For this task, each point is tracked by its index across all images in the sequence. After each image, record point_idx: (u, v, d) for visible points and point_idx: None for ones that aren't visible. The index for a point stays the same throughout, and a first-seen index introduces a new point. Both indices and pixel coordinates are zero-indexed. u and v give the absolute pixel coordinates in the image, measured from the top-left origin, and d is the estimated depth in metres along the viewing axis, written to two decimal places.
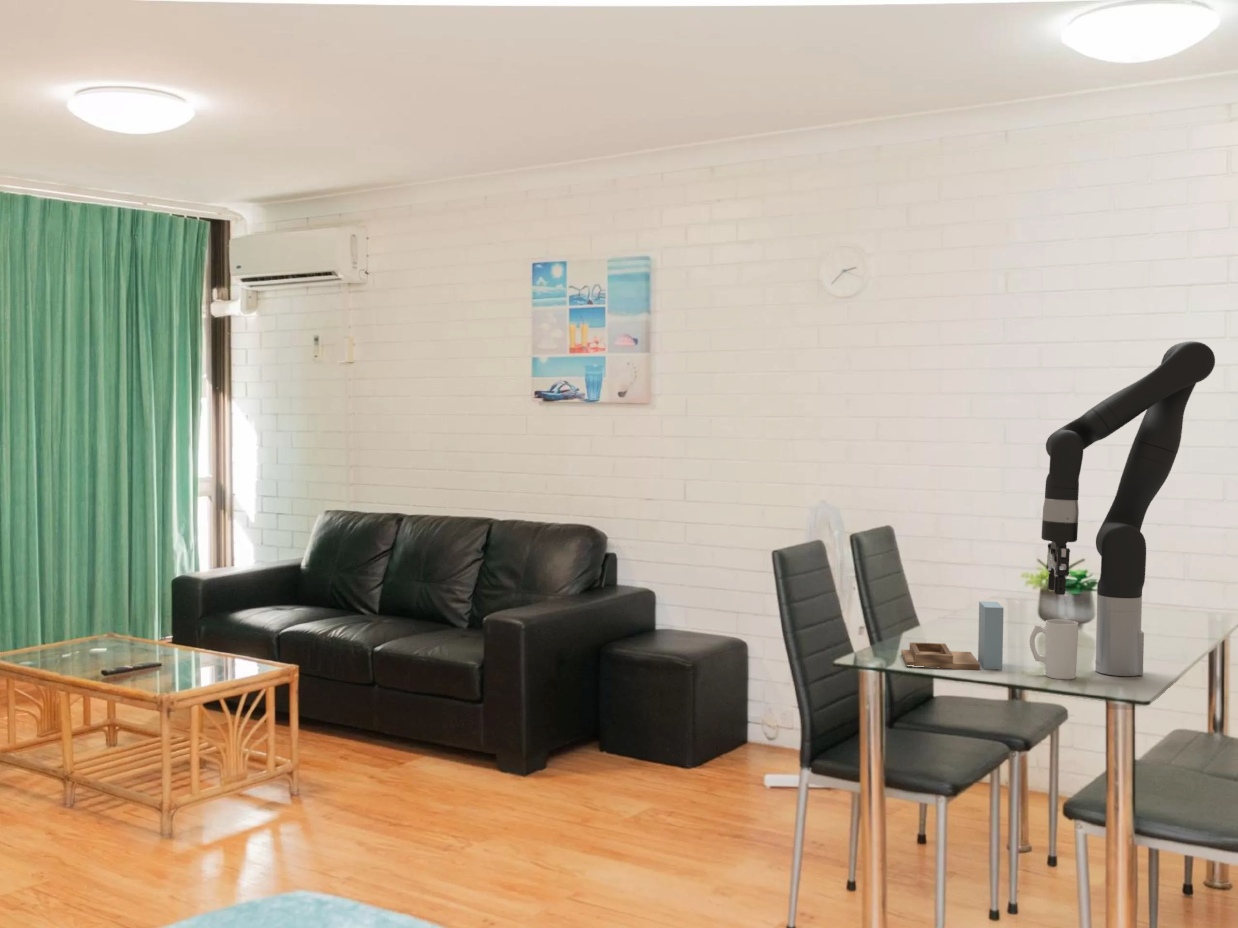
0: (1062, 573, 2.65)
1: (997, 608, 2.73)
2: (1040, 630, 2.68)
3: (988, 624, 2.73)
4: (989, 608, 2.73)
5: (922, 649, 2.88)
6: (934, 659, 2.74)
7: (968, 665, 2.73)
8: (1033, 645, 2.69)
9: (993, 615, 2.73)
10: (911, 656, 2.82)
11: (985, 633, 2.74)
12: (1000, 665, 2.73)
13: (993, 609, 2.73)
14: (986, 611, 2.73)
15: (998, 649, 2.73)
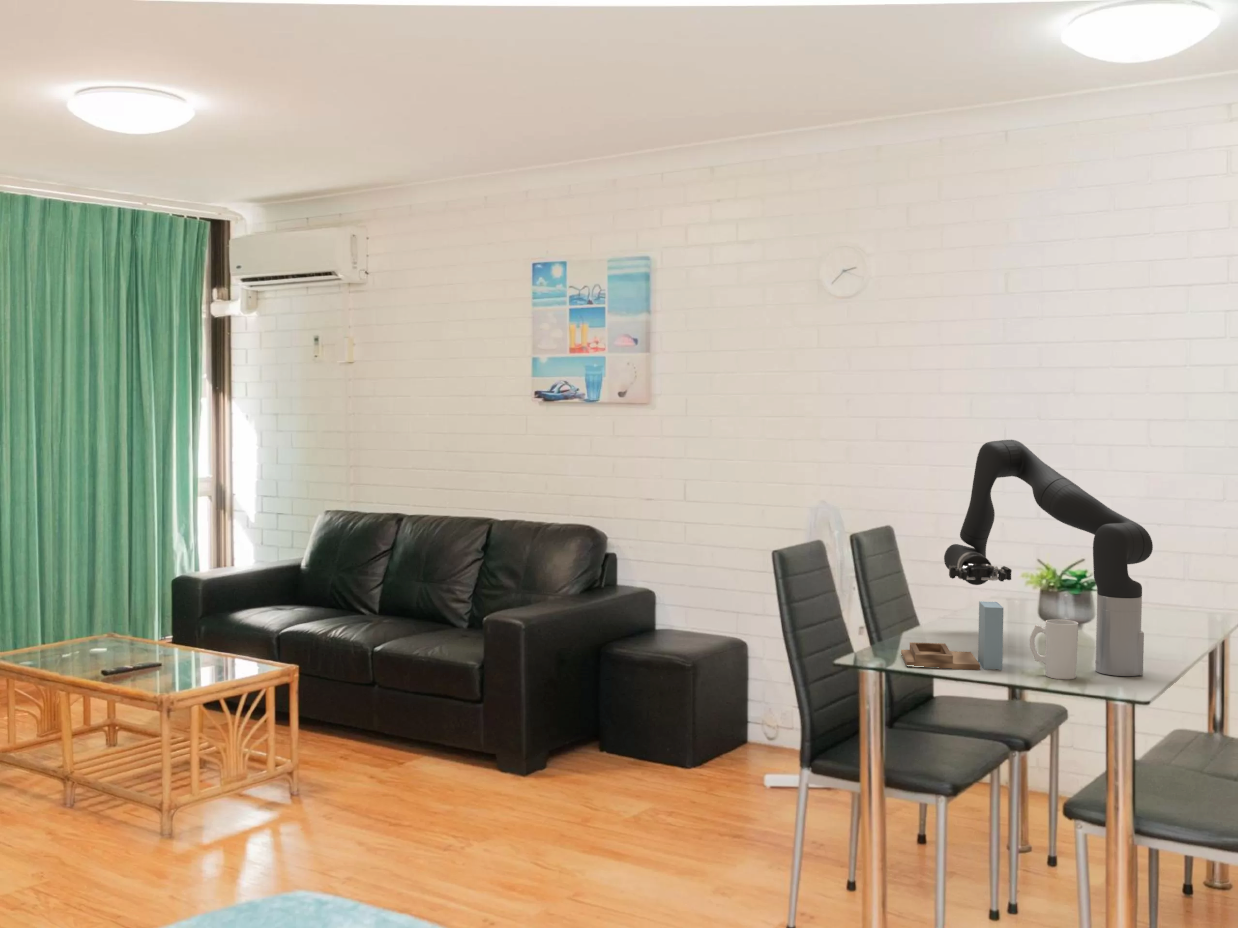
0: (950, 573, 2.94)
1: (997, 608, 2.73)
2: (1040, 630, 2.68)
3: (988, 624, 2.73)
4: (989, 608, 2.73)
5: (922, 649, 2.88)
6: (934, 659, 2.74)
7: (968, 665, 2.73)
8: (1033, 645, 2.69)
9: (993, 615, 2.73)
10: (911, 656, 2.82)
11: (985, 633, 2.74)
12: (1000, 665, 2.73)
13: (993, 609, 2.73)
14: (986, 611, 2.73)
15: (998, 649, 2.73)
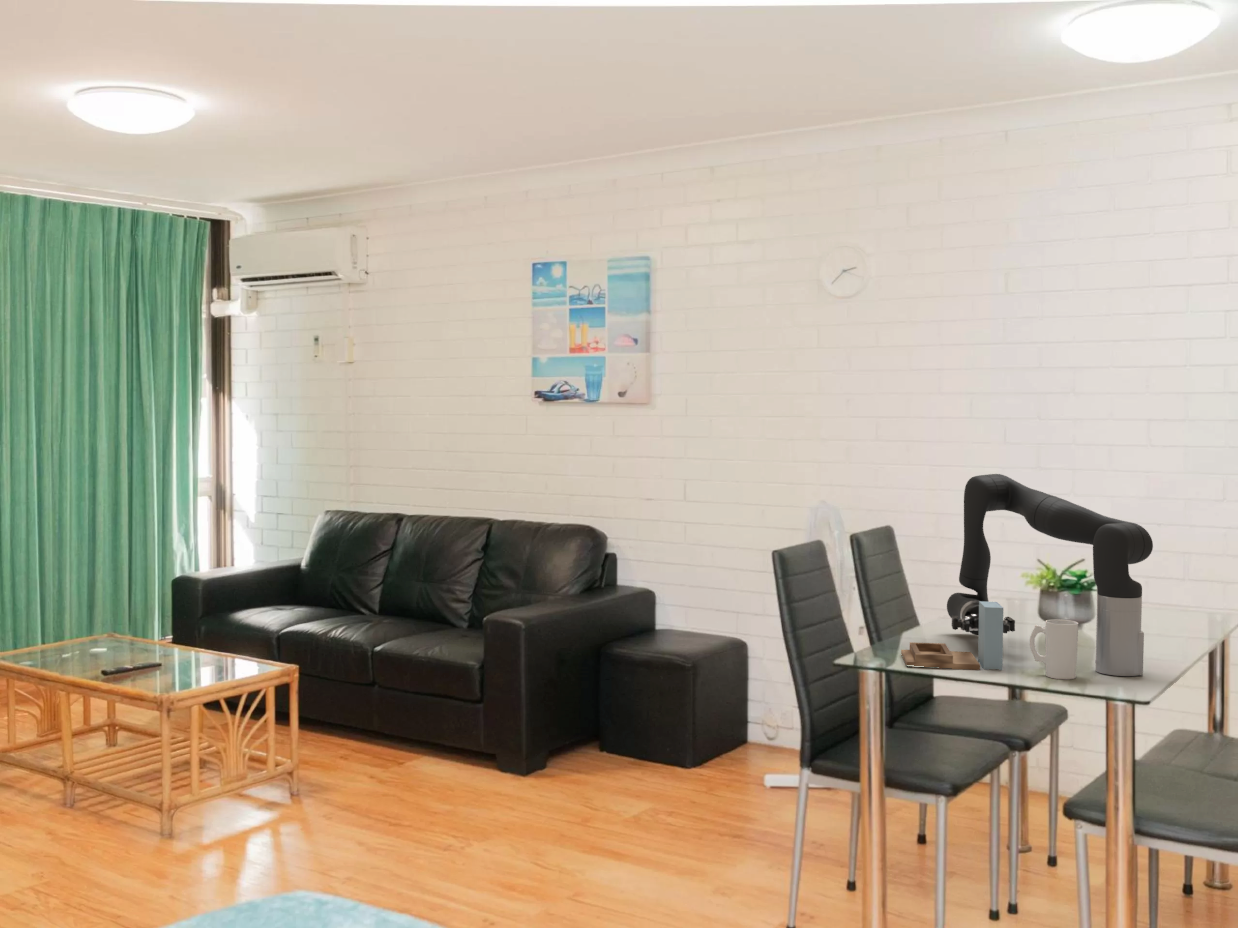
0: (952, 624, 2.90)
1: (997, 608, 2.73)
2: (1040, 630, 2.68)
3: (987, 624, 2.73)
4: (989, 608, 2.73)
5: (922, 649, 2.88)
6: (934, 659, 2.74)
7: (968, 665, 2.73)
8: (1033, 645, 2.69)
9: (993, 615, 2.73)
10: (911, 656, 2.82)
11: (985, 633, 2.74)
12: (1000, 665, 2.73)
13: (993, 609, 2.73)
14: (986, 611, 2.73)
15: (998, 649, 2.73)
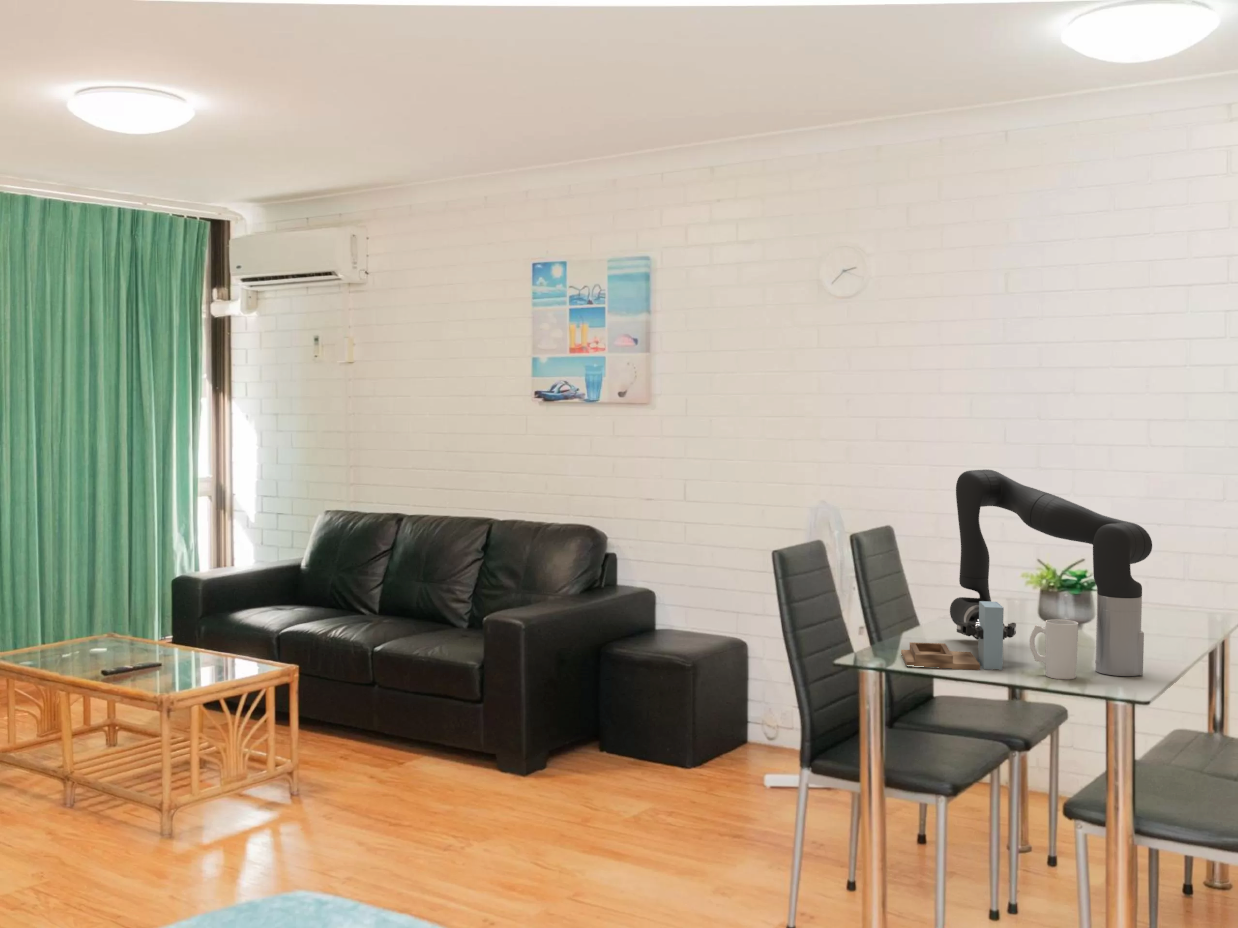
0: (966, 630, 2.81)
1: (997, 608, 2.73)
2: (1040, 630, 2.68)
3: (988, 624, 2.73)
4: (989, 608, 2.73)
5: (922, 649, 2.88)
6: (934, 659, 2.74)
7: (968, 665, 2.73)
8: (1033, 645, 2.69)
9: (993, 615, 2.73)
10: (911, 656, 2.82)
11: (985, 633, 2.74)
12: (1000, 665, 2.73)
13: (993, 609, 2.73)
14: (986, 611, 2.73)
15: (998, 649, 2.73)
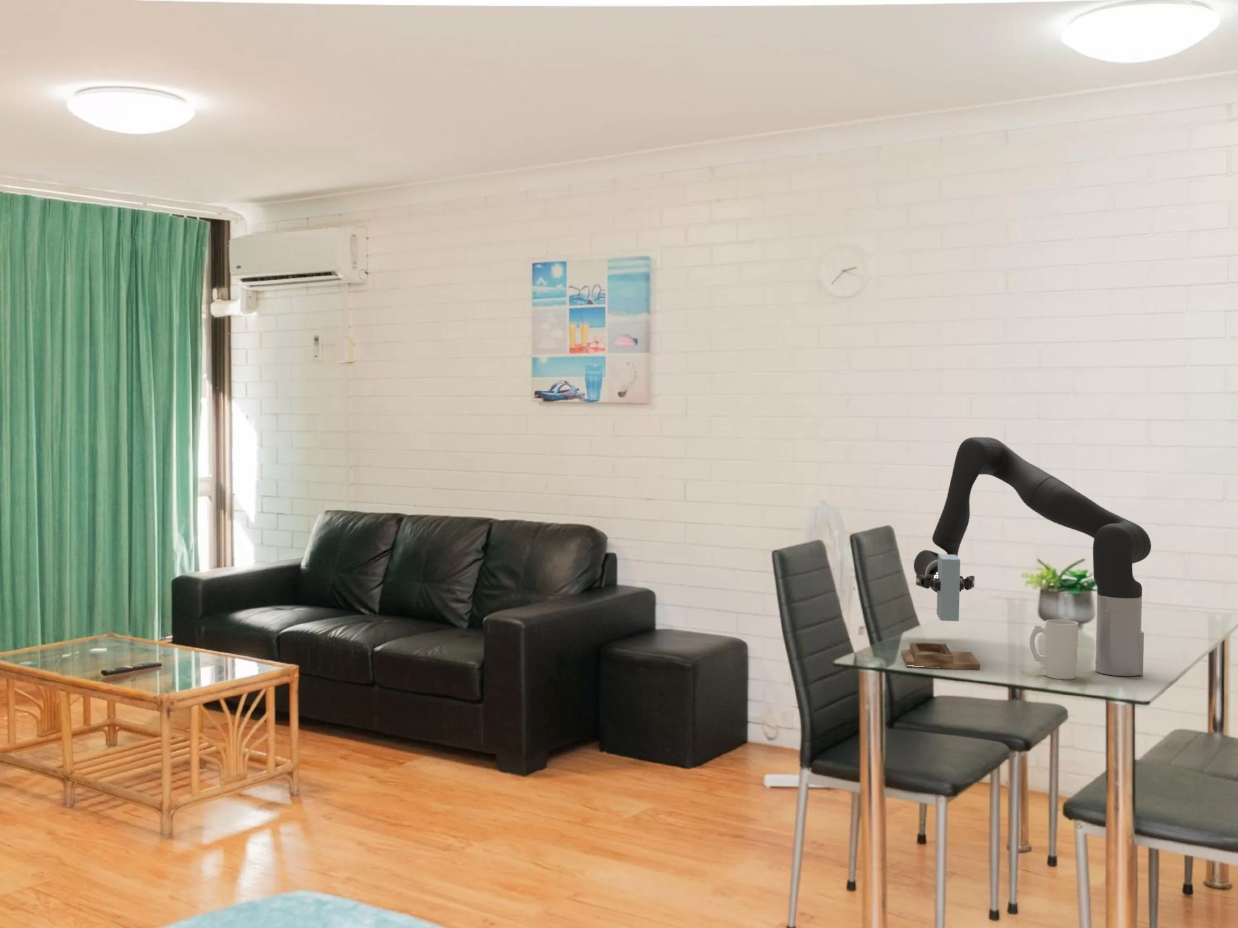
0: (924, 582, 2.84)
1: (954, 560, 2.76)
2: (1040, 630, 2.68)
3: (944, 576, 2.76)
4: (946, 560, 2.76)
5: (922, 649, 2.88)
6: (934, 659, 2.74)
7: (968, 665, 2.73)
8: (1033, 645, 2.69)
9: (950, 567, 2.76)
10: (911, 656, 2.82)
11: (942, 585, 2.77)
12: (957, 616, 2.76)
13: (950, 561, 2.76)
14: (943, 563, 2.76)
15: (955, 600, 2.76)
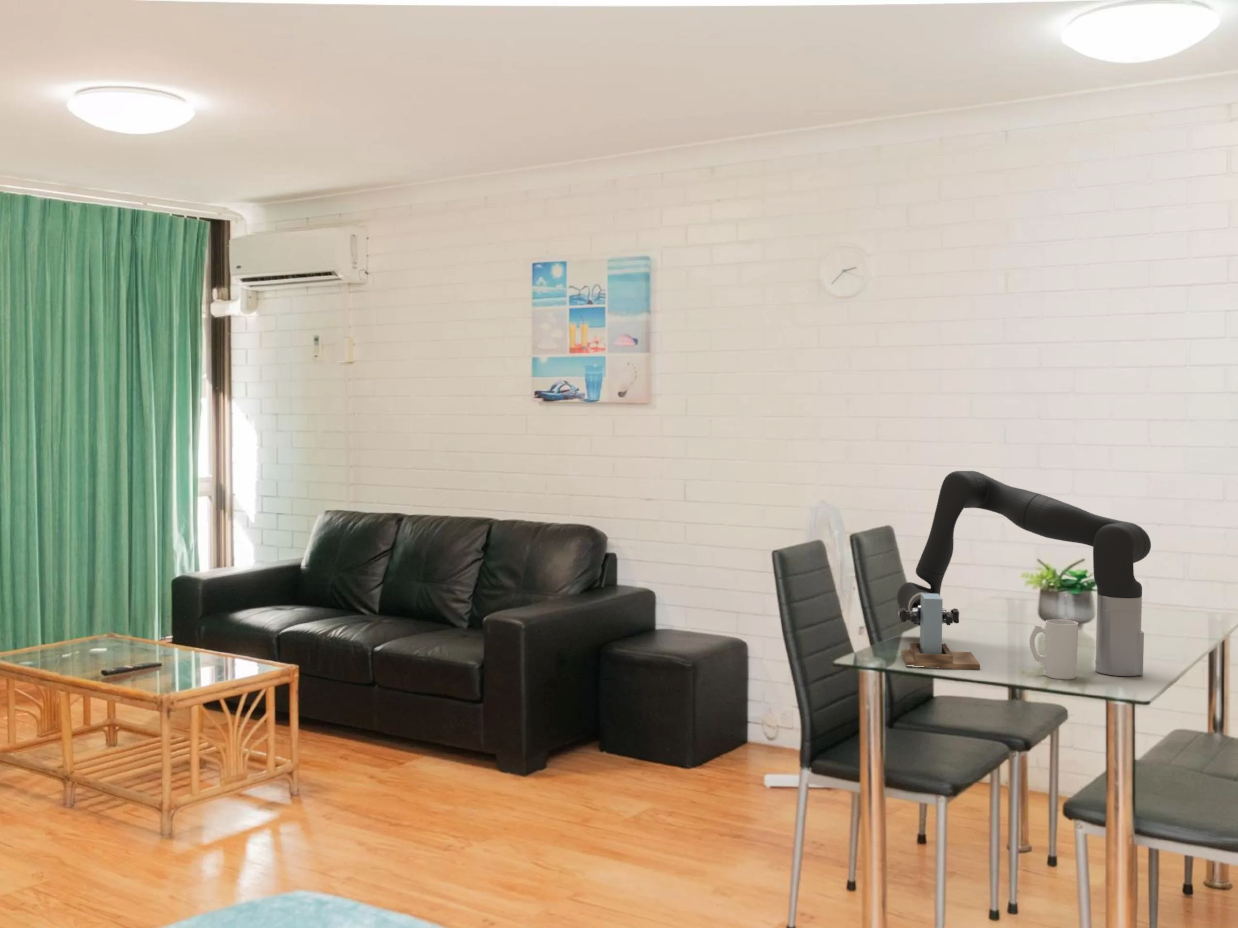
0: (901, 616, 2.85)
1: (936, 599, 2.77)
2: (1040, 630, 2.68)
3: (927, 615, 2.77)
4: (928, 599, 2.77)
5: None
6: (934, 659, 2.74)
7: (968, 665, 2.73)
8: (1033, 645, 2.69)
9: (932, 606, 2.77)
10: (911, 656, 2.82)
11: (924, 624, 2.78)
12: None
13: (932, 600, 2.77)
14: (925, 602, 2.77)
15: (937, 640, 2.77)
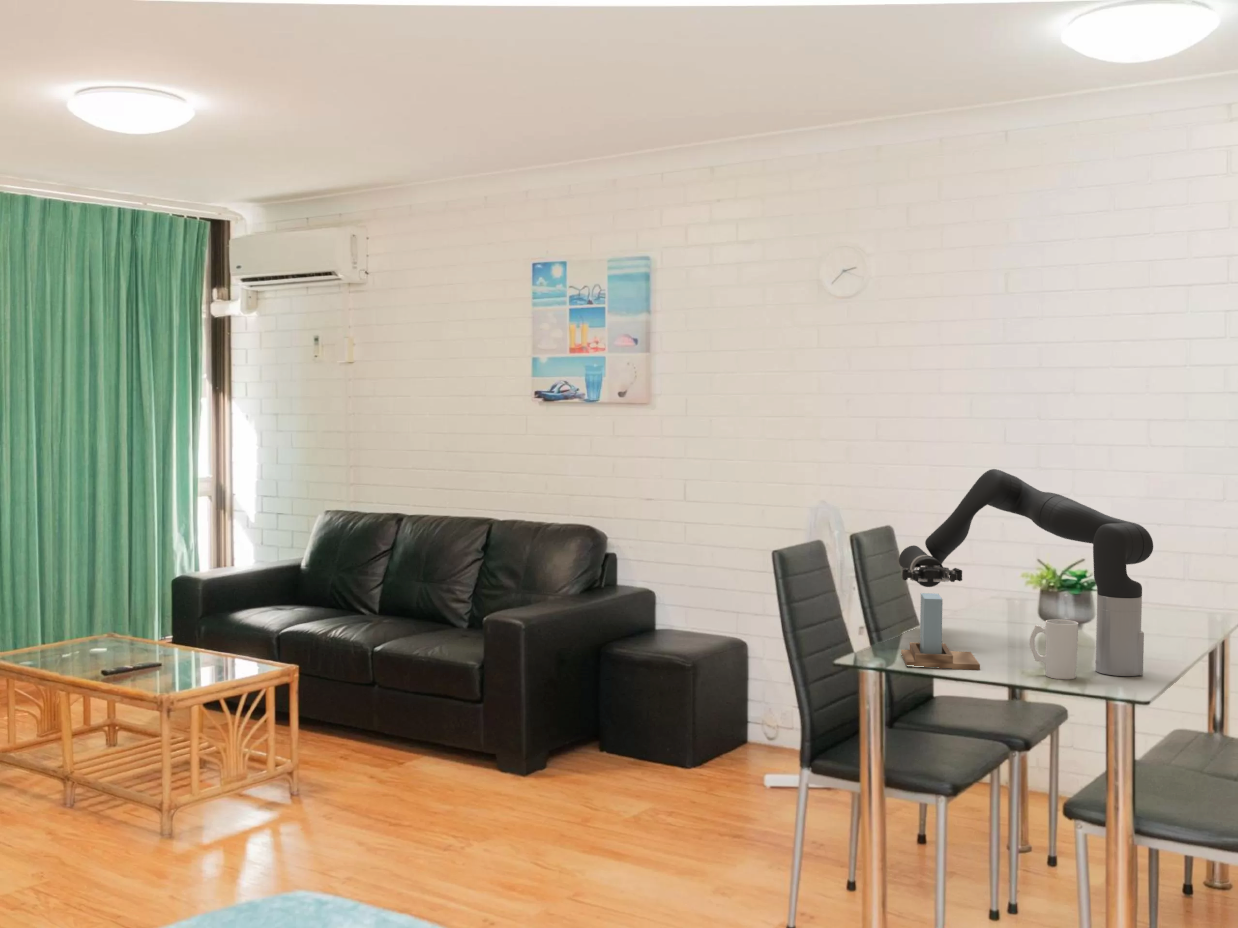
0: (902, 574, 2.99)
1: (936, 599, 2.77)
2: (1040, 630, 2.68)
3: (927, 615, 2.77)
4: (928, 599, 2.77)
5: None
6: (934, 659, 2.74)
7: (968, 665, 2.73)
8: (1033, 645, 2.69)
9: (932, 606, 2.77)
10: (911, 656, 2.82)
11: (924, 624, 2.78)
12: None
13: (932, 600, 2.77)
14: (925, 602, 2.77)
15: (937, 640, 2.77)
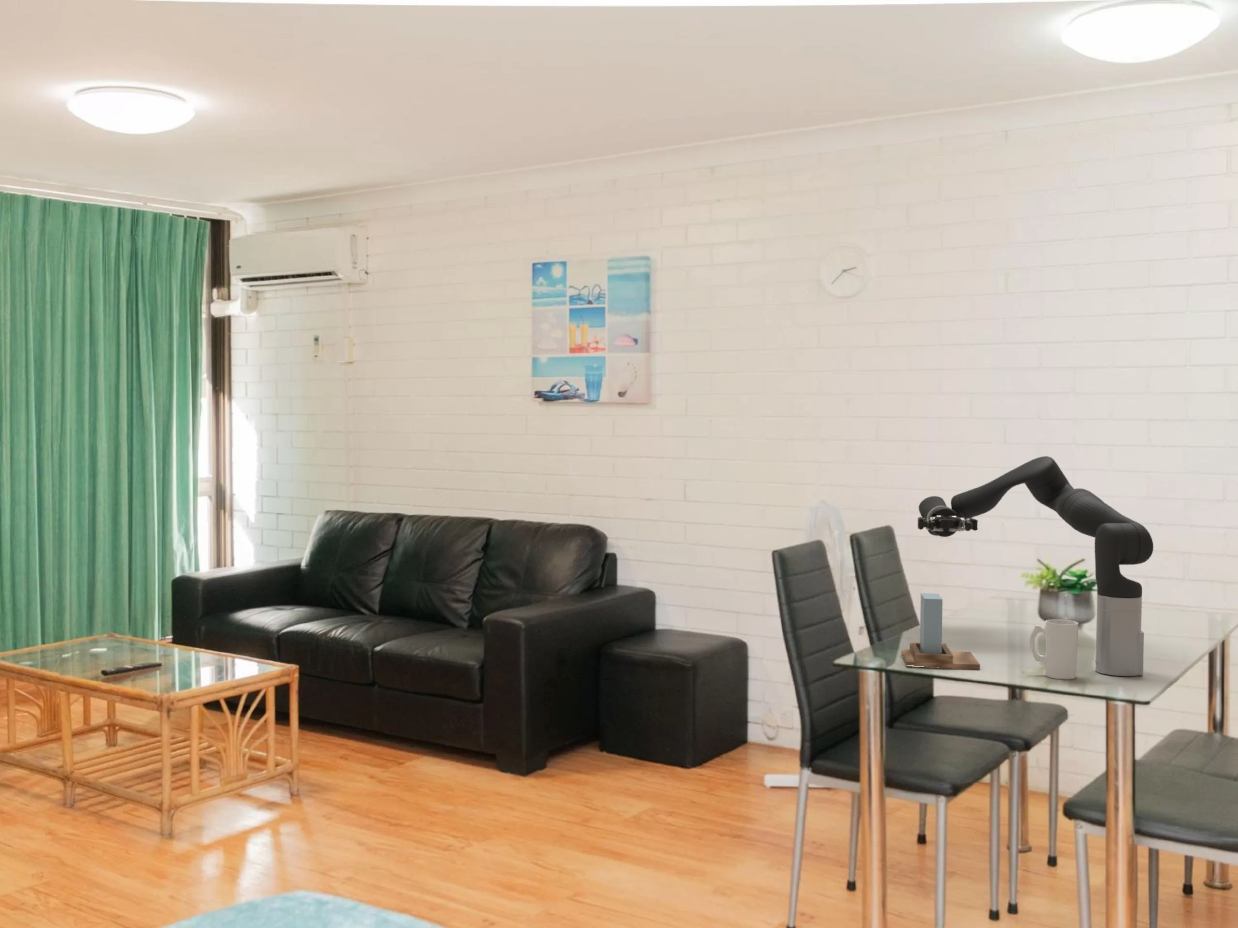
0: (918, 524, 3.03)
1: (936, 599, 2.77)
2: (1040, 630, 2.68)
3: (927, 615, 2.77)
4: (928, 599, 2.77)
5: None
6: (934, 659, 2.74)
7: (968, 665, 2.73)
8: (1033, 645, 2.69)
9: (932, 606, 2.77)
10: (911, 656, 2.82)
11: (924, 624, 2.78)
12: None
13: (932, 600, 2.77)
14: (925, 602, 2.77)
15: (937, 640, 2.77)
